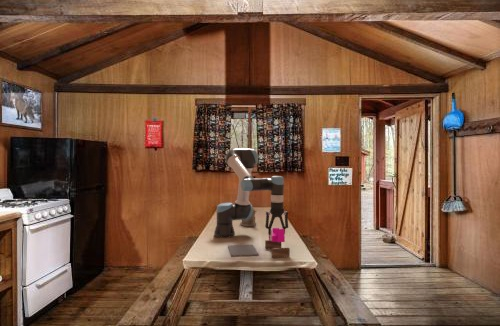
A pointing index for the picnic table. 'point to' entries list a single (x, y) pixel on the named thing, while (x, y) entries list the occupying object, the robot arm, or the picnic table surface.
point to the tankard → (249, 220)
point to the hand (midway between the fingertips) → (276, 239)
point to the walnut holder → (277, 249)
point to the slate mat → (242, 250)
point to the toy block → (277, 235)
